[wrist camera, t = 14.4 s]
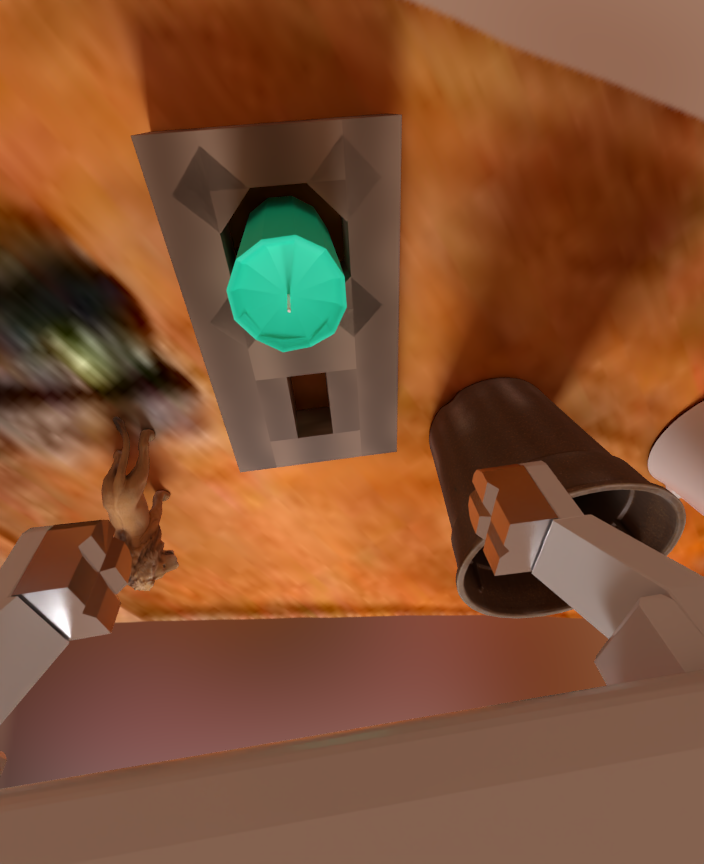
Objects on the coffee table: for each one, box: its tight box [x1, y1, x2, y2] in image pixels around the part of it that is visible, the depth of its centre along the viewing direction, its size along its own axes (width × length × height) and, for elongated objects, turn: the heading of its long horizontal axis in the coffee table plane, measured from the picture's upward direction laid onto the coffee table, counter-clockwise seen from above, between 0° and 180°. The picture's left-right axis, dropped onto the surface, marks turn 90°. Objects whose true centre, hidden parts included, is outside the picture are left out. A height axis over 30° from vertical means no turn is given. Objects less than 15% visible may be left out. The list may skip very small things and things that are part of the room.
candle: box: [226, 196, 347, 352], centre depth 24 cm, size 6×6×12 cm
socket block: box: [131, 114, 402, 472], centre depth 30 cm, size 14×24×4 cm, turn 3°
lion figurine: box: [102, 417, 179, 591], centre depth 36 cm, size 15×5×9 cm, turn 1°
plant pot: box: [429, 378, 686, 618], centre depth 35 cm, size 16×16×16 cm
